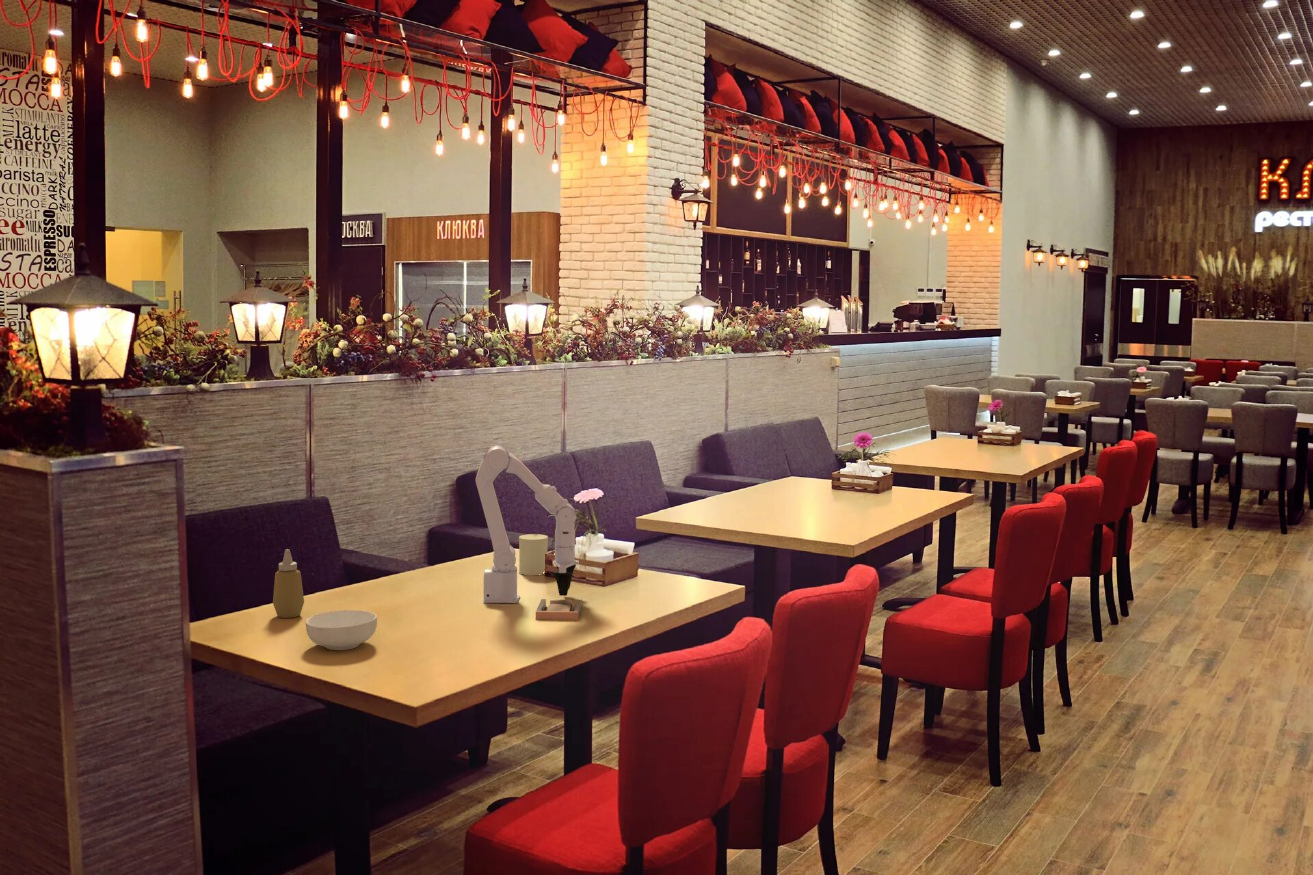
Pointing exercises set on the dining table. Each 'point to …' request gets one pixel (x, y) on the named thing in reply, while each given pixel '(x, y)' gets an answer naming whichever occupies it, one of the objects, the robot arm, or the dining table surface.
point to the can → (532, 553)
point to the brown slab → (560, 605)
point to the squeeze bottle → (288, 589)
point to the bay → (558, 612)
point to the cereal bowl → (341, 628)
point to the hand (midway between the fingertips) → (564, 592)
